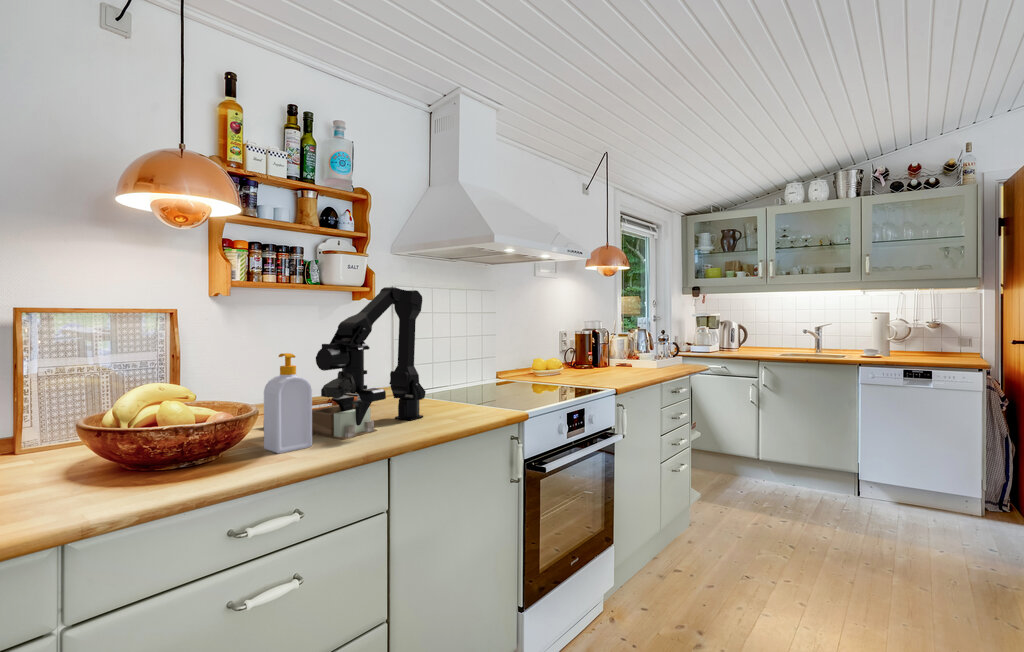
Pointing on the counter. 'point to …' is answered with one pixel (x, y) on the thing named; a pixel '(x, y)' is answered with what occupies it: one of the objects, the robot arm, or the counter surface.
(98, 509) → the counter surface
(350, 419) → the door
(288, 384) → the soap bottle
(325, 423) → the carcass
